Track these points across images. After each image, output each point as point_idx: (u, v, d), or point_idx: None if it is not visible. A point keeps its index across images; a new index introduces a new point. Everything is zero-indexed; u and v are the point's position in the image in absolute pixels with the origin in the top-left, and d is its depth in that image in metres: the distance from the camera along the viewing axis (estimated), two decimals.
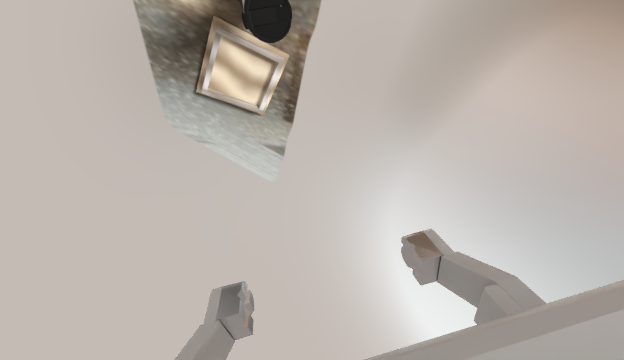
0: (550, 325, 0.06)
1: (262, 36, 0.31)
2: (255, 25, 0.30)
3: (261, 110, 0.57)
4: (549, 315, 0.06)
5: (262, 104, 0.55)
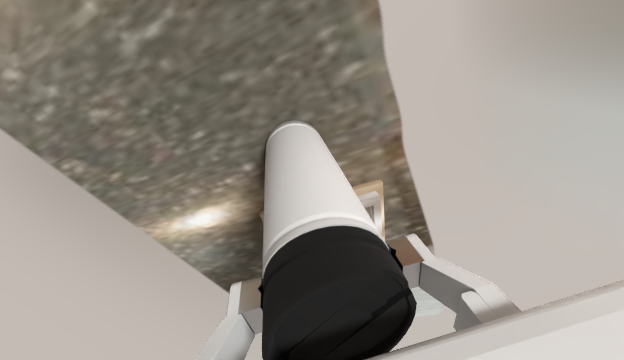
0: (550, 325, 0.06)
1: (351, 357, 0.10)
2: (320, 358, 0.10)
3: None
4: (549, 315, 0.06)
5: None
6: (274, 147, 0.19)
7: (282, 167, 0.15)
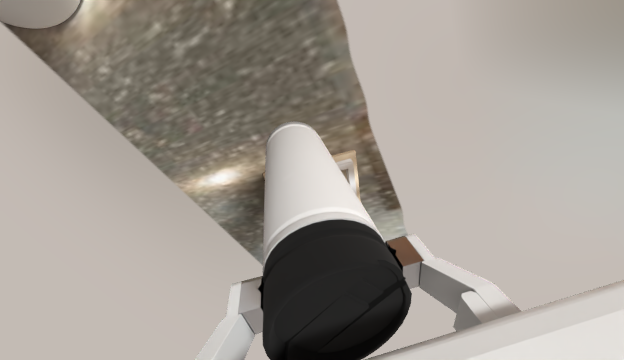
0: (550, 325, 0.06)
1: (349, 348, 0.10)
2: (319, 348, 0.10)
3: None
4: (549, 315, 0.06)
5: None
6: (274, 147, 0.20)
7: (282, 166, 0.15)
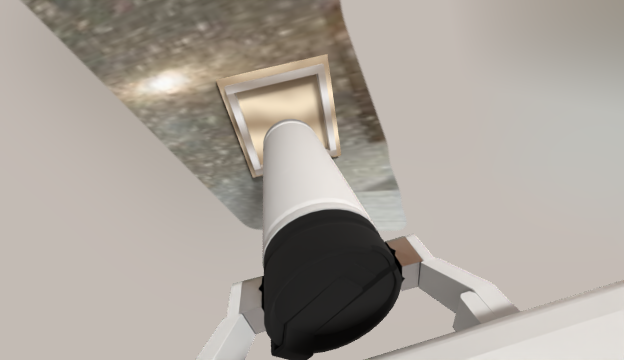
0: (550, 325, 0.06)
1: (343, 330, 0.11)
2: (316, 330, 0.11)
3: (334, 150, 0.38)
4: (549, 315, 0.06)
5: (331, 142, 0.37)
6: (271, 143, 0.20)
7: (280, 160, 0.16)
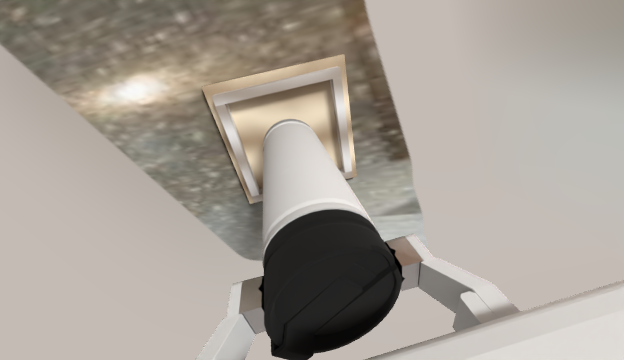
0: (550, 325, 0.06)
1: (343, 330, 0.11)
2: (316, 330, 0.11)
3: (349, 172, 0.31)
4: (549, 315, 0.06)
5: (346, 162, 0.30)
6: (271, 143, 0.20)
7: (280, 160, 0.16)
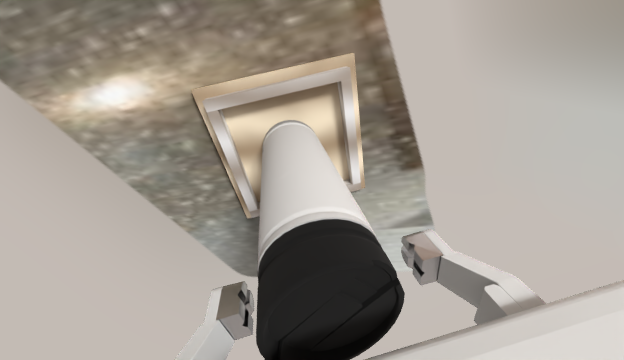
0: (550, 325, 0.06)
1: (342, 346, 0.10)
2: (313, 346, 0.10)
3: (358, 183, 0.28)
4: (549, 315, 0.06)
5: (354, 173, 0.27)
6: (270, 145, 0.20)
7: (278, 164, 0.15)
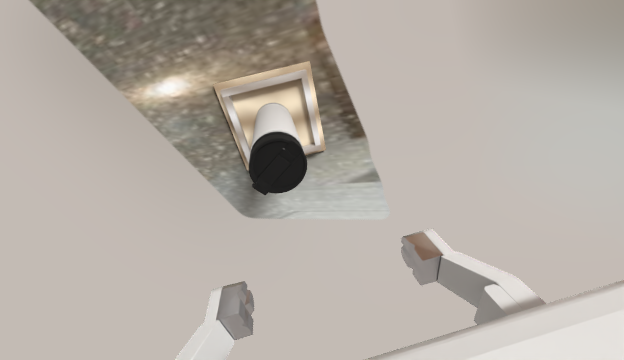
0: (550, 325, 0.06)
1: (285, 186, 0.25)
2: (272, 183, 0.25)
3: (319, 145, 0.43)
4: (549, 315, 0.06)
5: (315, 138, 0.42)
6: (259, 115, 0.34)
7: (261, 120, 0.30)
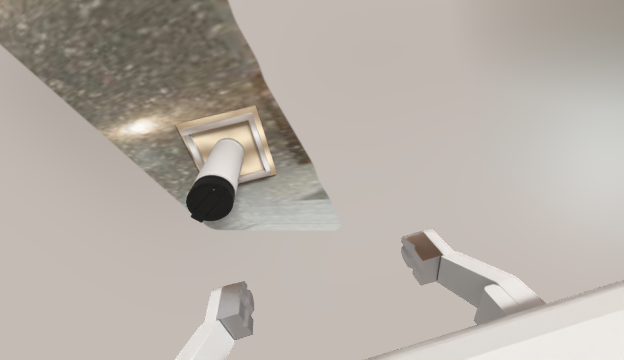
0: (550, 325, 0.06)
1: (217, 215, 0.34)
2: (207, 213, 0.33)
3: (268, 171, 0.51)
4: (549, 315, 0.06)
5: (265, 165, 0.50)
6: (211, 151, 0.43)
7: (208, 159, 0.39)
